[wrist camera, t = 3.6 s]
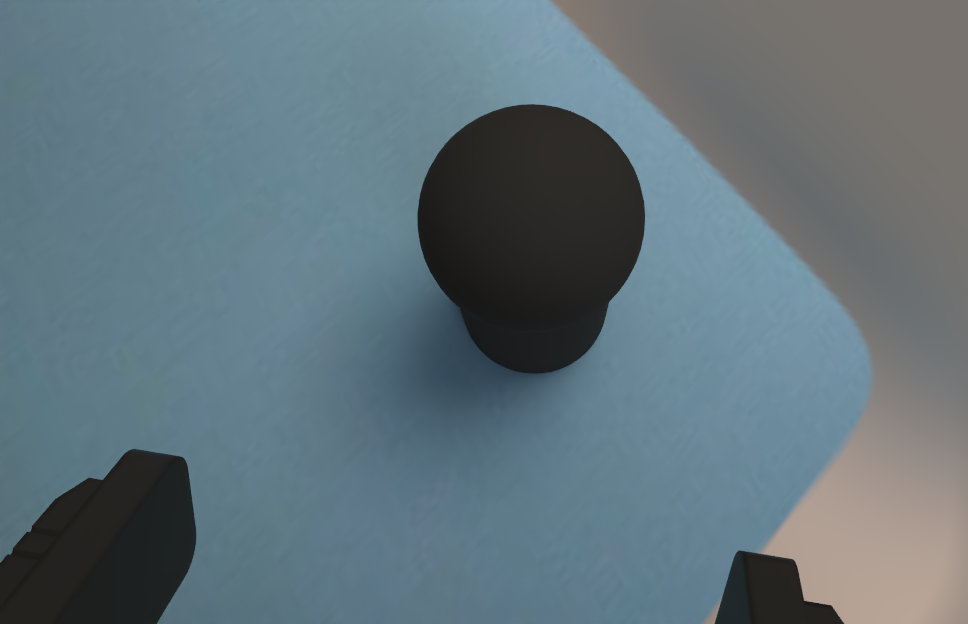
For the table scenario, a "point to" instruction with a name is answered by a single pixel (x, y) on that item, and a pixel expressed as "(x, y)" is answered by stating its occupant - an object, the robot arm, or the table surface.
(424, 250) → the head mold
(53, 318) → the table surface
